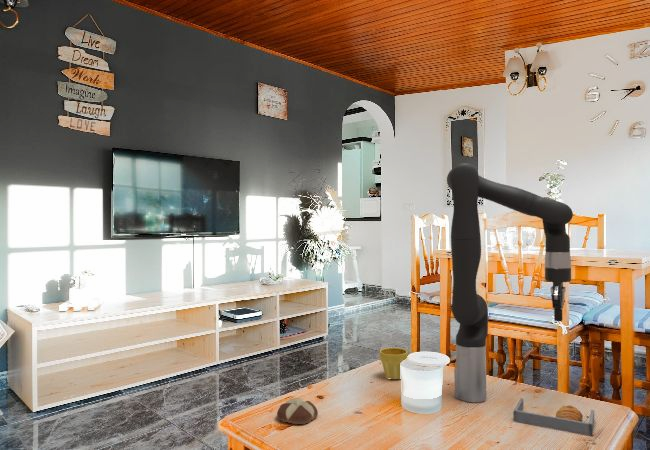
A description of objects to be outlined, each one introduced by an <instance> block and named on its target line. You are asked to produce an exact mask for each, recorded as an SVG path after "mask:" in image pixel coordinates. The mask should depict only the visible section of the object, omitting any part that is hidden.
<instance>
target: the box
mask: <svg viewBox="0 0 650 450" xmlns="http://www.w3.org/2000/svg"><path fill="white" fill-rule="evenodd" d="M523 410H524V398H519V400H518V401H517V403H516V405H515V407H514V409H513V412H512V413H513V422H516V423H523V424H527V425H533V426H537V427H544V428H548V429H552V430H556V431H557V430H558V431H563V432H568V433H574V434H579V435H583V436H584V435H585V436H589V437H592V436H593V433H594V427H595V409H590V413H589V418H588V419H589V420H588V422H585V421H582V422H580V421H575V420H569V419H563V418H558V417H556V416H551V415H545V414H540V413H535V412H529V411H523Z"/></svg>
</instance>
